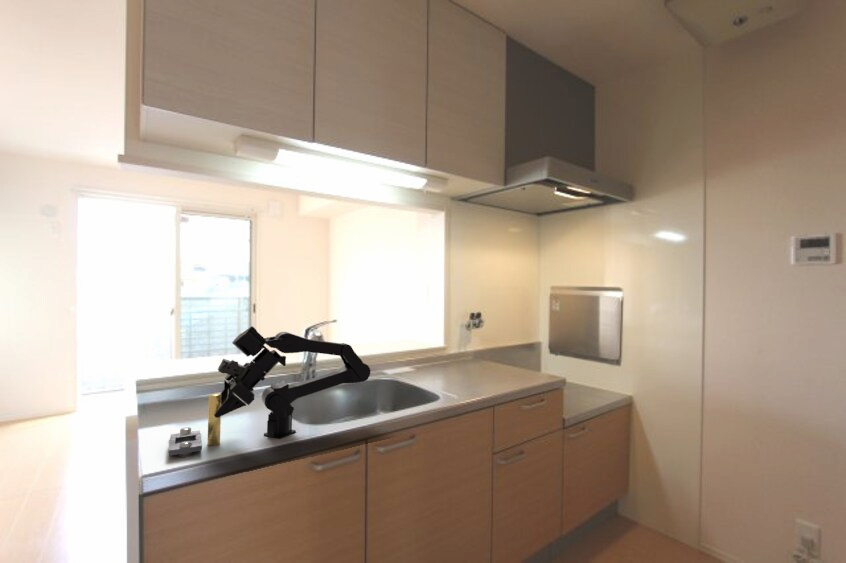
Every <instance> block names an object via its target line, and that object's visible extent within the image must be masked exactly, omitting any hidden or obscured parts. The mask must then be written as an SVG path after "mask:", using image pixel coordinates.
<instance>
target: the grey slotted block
mask: <svg viewBox="0 0 846 563" xmlns="http://www.w3.org/2000/svg"><path fill="white" fill-rule="evenodd" d="M202 450H203V443H202V433H201V431H200V430H194V431H192V427H182V428H181V429H179V432H178V433H172V434H170V436H169V444H168V456H176V455H178V456H179V458H187V457H191V455H192V453H194V452H201V451H202Z"/></svg>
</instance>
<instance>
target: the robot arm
mask: <svg viewBox="0 0 846 563" xmlns="http://www.w3.org/2000/svg"><path fill="white" fill-rule="evenodd" d="M232 345H234V346H235V347H236V348H237V349H238V350H239V351H240V352H241V353H243V355H245V356H246V357H250V356H252V357H253V358H252V360H251V361H250V362H245V363H244V364H243V365H242V364H241V363H239V361H236V360H234V359H231V360H229V359H226V358H223V359H222V361H221V362H220V364H219V366H218V368H217V370H218V372H219V373H221V374H227V375H226V376H225V377H224V380H223V389H222V390H221V392H220V394H222V396H221V406H220V408H219V409H218V410H217V412H216V413H215V414H214V416H215V417H216V418H218V417H220V416H221V417H222V416H225V415H226V414H229V413H231V412H233V411H235V410H238V409H241V408H242V407H246V406H247V405H248V406H250V405H251V404H252V402H254V400H255V393H254V388H255V387H256V386H257V385H258V384H259V383H260V382H261V381H262V382H263V381H265V379H266V378H265V377H266V375H268V374H269V373H270V372H271V371H272V369H274V368H275V367H276V366H277V365H278V364H280V365H281V366H283V367H286V365H287V361H286V359H287V356H285V355H281V354H279V352H281V353H283V354H297V353H305V352H306V353H315V354H322V355H323V354H324V355H330V356H339V357H340V359H341V361H342V362H343V364H344V365H343V366H341V367H339V369H338V370H335V371H332V372H328V373H326V374H325V373H324V374H323V375H318V376H317V377H313V378H309V379H306V380H302V381H299V382H297V383H293V384H289V383H288V382H287V381H286V380H281V381H278V382H277V383H270V384H269V385H270V386H268V387H266V388H265V389H264V390H263V392H262V394H261V401H262V403H263V404H264V406H265V408H266V409H267V410H269V411H270V412H269V413H268V414H267V415H268V416H267V417H268V419H267V422H266V428H267V430H266V432H264V433H263V437H264V436H265V437H267V438H268V437H269V438H272V439H279V440H281V439H283V438H286V437H288V436H290V435H293V434H295V433H297V430H295V429H293V412H294V410H295V408H294V406H293V405H292V403H293V402H295V401H296V400H298V399H300V398H304V397H306V396H310V395H312V394H316V393H318V392H321V391H324V390H327V389H330V388H331V389H332V388H333V387H337V386H339V385H342V384H343V385H344V384H358V383H363V382H366V381H368V379H369V378H370V376H371V368H370V366H369V365H368V364H367V363H365V362H364V361H363V360H362V359H361V357H360V356H358V354H357V353H356V351H354V349H353V347H352V345H351V344H349V343H344V342H343V343H340V342H339V343H338V342H332V341H324V340H318V339H312V338H311V339H310V338H305V337H303V336H299V335H296V334H293V333H290V332H287V331H279V332H278V333H276V335H275V336H270V337H269V336H268V337H264V336H263V335H261V334H260V333H259V332H258V330H257V329H256V328H255V327H254V326H253V325H251V326H250V327H248V329H246V330H244V331H243V332H241V333H240V334H239V335H238V336H236V338H234V340H232ZM265 345H267V346H268V347H269V348H271V349H272V348H273V349H272V350H271V351H270V349H269V348H267V347H266V346H265ZM275 349H276V350H277V351H279V352H277V351H276V350H275Z"/></svg>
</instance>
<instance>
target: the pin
mask: <svg viewBox="0 0 846 563" xmlns="http://www.w3.org/2000/svg"><path fill="white" fill-rule="evenodd" d="M221 396H222V394H221V393H212V394H209V395H208V410H207V411H208V412H207V413H208V414H207V415H208V416H207V419H208V420H207V441H206V442H207V446H208V447H215V446H220V444H221V424H222V423H221V422H222V416H220V417H218V418H216V417H215V416H214V414H215V413H216V412H217V410H218V409H219V408H220V406H221Z"/></svg>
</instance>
